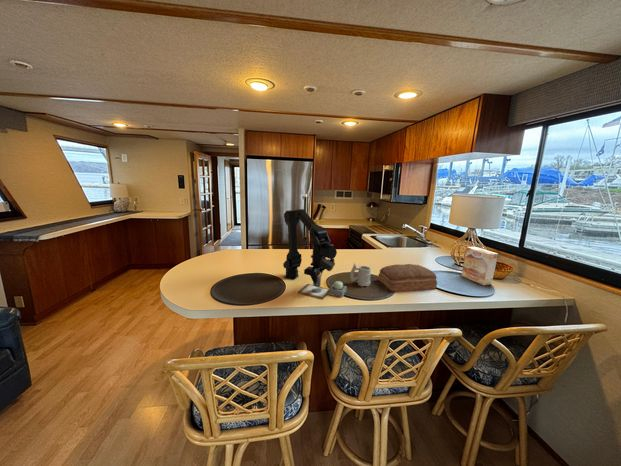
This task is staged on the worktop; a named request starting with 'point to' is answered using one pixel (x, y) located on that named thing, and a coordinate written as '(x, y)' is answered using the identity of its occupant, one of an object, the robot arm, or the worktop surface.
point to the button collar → (337, 291)
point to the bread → (407, 277)
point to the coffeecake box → (479, 265)
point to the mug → (361, 275)
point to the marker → (318, 281)
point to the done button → (338, 285)
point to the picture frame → (314, 291)
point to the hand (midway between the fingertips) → (316, 282)
